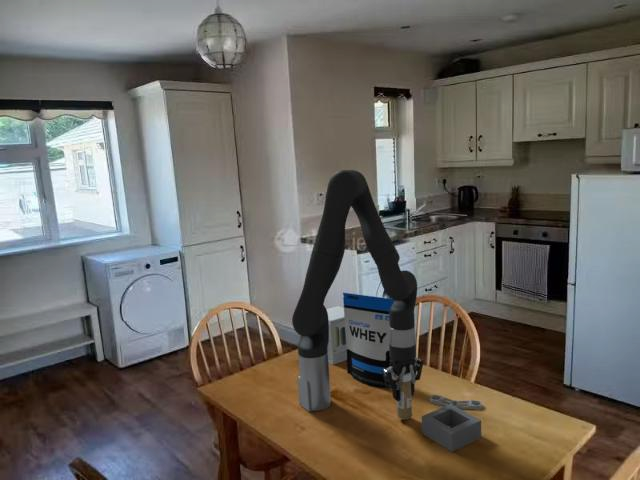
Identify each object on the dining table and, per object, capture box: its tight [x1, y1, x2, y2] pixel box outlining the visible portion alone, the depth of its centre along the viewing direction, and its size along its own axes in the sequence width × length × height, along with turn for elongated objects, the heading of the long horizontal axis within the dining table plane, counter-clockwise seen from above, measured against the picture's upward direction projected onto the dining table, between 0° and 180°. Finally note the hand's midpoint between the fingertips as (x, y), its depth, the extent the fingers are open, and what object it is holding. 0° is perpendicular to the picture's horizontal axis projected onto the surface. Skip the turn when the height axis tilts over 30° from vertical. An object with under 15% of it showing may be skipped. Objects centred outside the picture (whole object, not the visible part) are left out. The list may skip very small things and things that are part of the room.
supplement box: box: [326, 305, 347, 366], centre depth 189 cm, size 13×13×18 cm
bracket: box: [429, 394, 483, 411], centre depth 148 cm, size 8×2×15 cm
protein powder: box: [342, 292, 394, 390], centre depth 164 cm, size 10×24×30 cm, turn 54°
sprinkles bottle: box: [395, 373, 413, 420], centre depth 140 cm, size 5×5×13 cm
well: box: [421, 404, 482, 453], centre depth 131 cm, size 11×11×5 cm
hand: (403, 397), depth 140 cm, fingers closed on sprinkles bottle, 4 cm apart
